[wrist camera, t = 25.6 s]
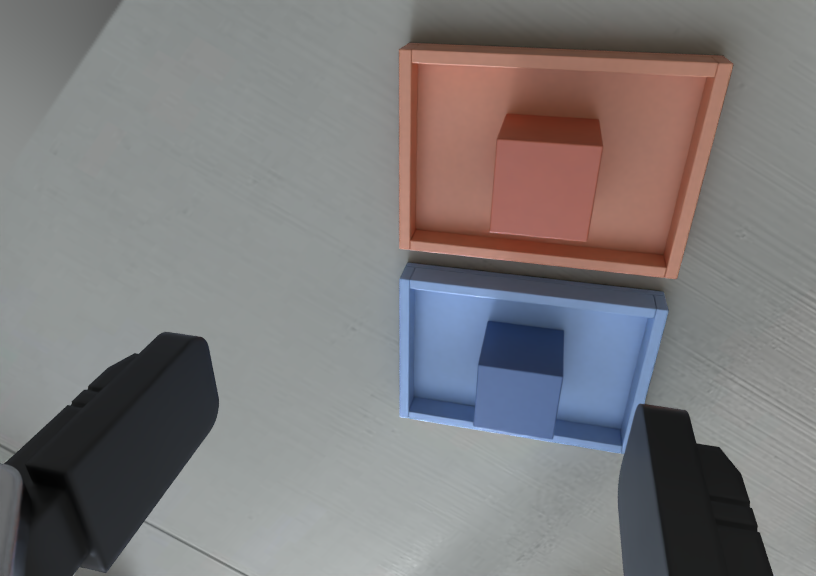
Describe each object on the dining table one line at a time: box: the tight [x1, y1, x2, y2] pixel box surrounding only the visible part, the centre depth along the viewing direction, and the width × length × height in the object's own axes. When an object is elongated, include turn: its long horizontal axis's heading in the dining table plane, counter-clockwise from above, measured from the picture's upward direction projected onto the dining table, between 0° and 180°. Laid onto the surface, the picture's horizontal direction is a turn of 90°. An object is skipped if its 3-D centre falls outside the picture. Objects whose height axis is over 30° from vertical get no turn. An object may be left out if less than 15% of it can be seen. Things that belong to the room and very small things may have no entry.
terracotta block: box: [489, 114, 603, 242], centre depth 28 cm, size 4×4×4 cm
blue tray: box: [399, 263, 669, 454], centre depth 36 cm, size 14×10×2 cm
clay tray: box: [399, 43, 733, 279], centre depth 30 cm, size 14×10×2 cm
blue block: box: [473, 321, 564, 440], centre depth 34 cm, size 4×4×4 cm
